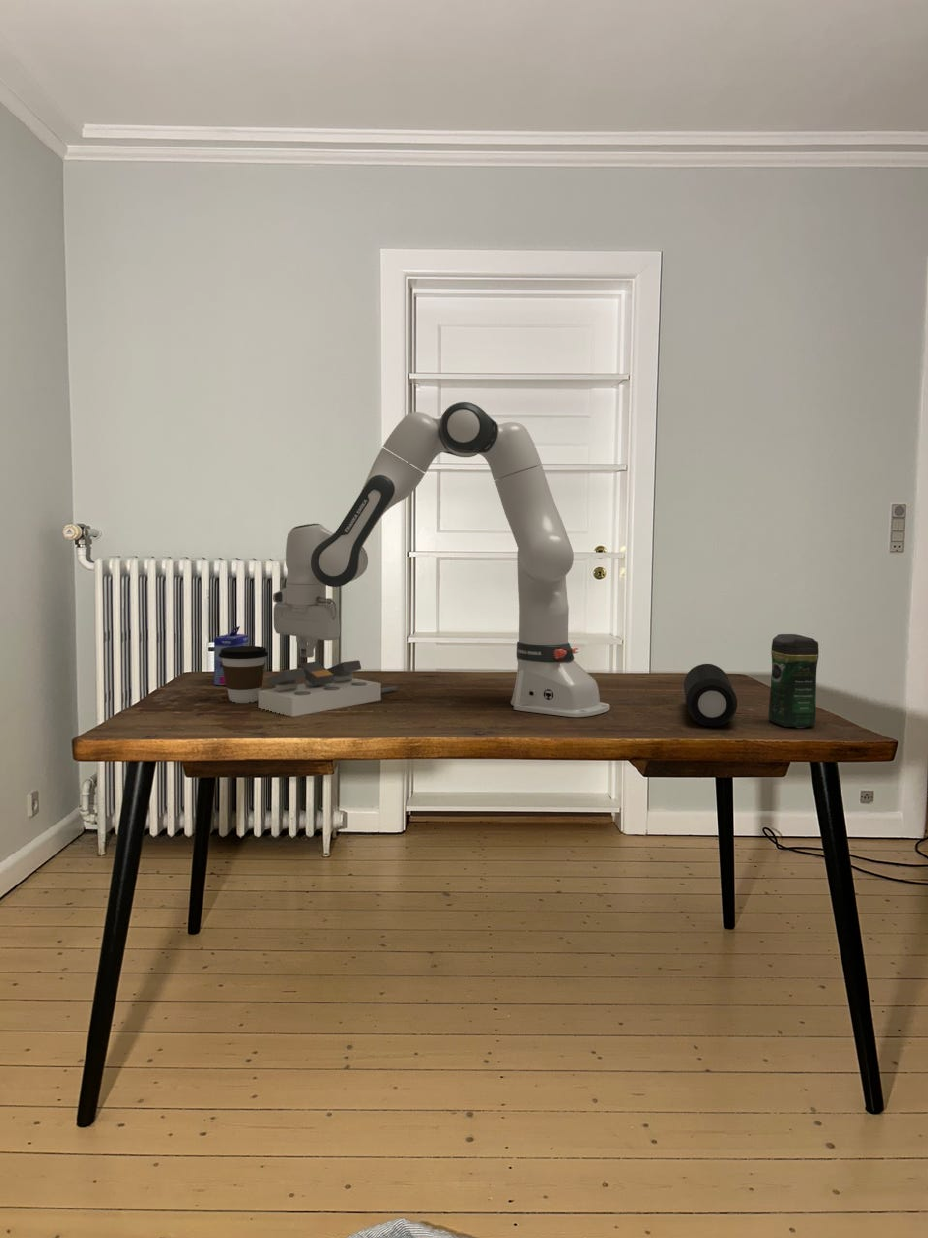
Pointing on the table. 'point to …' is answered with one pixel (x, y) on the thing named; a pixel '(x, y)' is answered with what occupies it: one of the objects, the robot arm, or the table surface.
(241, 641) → the ink cartridge box
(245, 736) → the table surface
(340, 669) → the rocker
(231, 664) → the coffee cup
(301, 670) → the rocker
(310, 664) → the rocker
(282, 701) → the power strip
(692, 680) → the portable speaker
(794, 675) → the coffee jar
